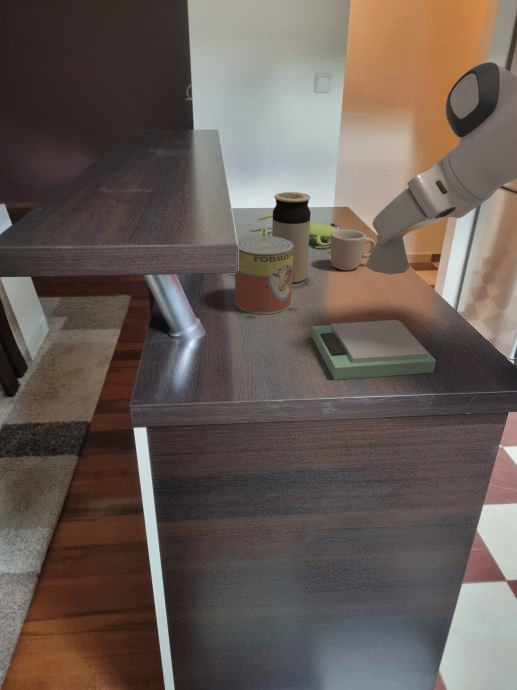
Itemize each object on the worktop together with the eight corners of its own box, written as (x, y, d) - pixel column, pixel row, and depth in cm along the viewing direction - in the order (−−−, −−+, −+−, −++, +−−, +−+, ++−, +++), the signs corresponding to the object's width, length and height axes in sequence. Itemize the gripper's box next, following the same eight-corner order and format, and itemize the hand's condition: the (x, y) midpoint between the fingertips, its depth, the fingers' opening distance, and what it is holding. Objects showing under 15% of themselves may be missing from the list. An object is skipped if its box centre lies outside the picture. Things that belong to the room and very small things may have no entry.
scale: (398, 332, 92) (400, 317, 90) (433, 372, 80) (437, 356, 78) (311, 337, 90) (312, 322, 88) (334, 380, 78) (335, 363, 76)
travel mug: (284, 286, 110) (287, 201, 102) (264, 275, 116) (265, 194, 108) (313, 279, 114) (319, 197, 105) (292, 268, 120) (296, 190, 111)
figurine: (260, 228, 150) (260, 208, 147) (353, 234, 145) (355, 214, 143) (247, 247, 134) (247, 226, 131) (350, 254, 130) (353, 233, 127)
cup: (366, 260, 126) (370, 228, 122) (378, 271, 119) (382, 237, 115) (323, 262, 124) (326, 229, 120) (333, 273, 117) (336, 239, 114)
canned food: (265, 319, 96) (266, 258, 90) (223, 302, 102) (221, 244, 97) (302, 302, 103) (306, 244, 97) (261, 287, 110) (262, 232, 104)
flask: (357, 267, 89) (363, 209, 85) (381, 259, 94) (389, 203, 89) (392, 278, 85) (401, 218, 80) (416, 269, 89) (426, 211, 84)
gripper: (472, 162, 83) (409, 212, 94) (408, 177, 70) (343, 233, 81) (493, 195, 83) (427, 241, 93) (432, 215, 70) (364, 266, 80)
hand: (387, 237), depth 87 cm, fingers closed on flask, 3 cm apart
